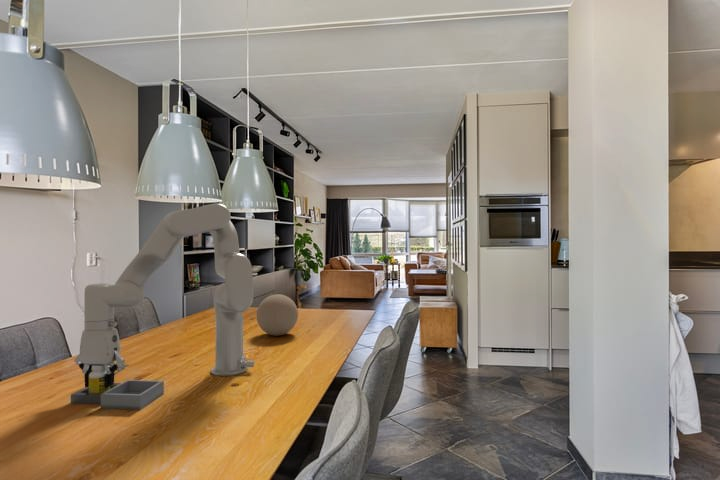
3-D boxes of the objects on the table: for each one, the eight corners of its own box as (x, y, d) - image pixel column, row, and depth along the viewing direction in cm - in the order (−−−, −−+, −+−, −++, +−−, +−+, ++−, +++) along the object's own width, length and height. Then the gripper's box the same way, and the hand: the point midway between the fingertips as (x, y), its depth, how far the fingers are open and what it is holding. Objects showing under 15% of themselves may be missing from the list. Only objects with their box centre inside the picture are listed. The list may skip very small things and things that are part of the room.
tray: (163, 394, 125) (163, 380, 125) (140, 409, 113) (140, 395, 113) (127, 392, 125) (127, 379, 125) (100, 408, 114) (100, 394, 114)
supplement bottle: (99, 401, 119) (99, 367, 119) (84, 399, 120) (83, 366, 120) (114, 394, 124) (114, 362, 124) (99, 393, 125) (99, 361, 125)
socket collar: (126, 391, 127) (126, 383, 127) (103, 404, 117) (103, 395, 117) (95, 390, 127) (95, 382, 127) (70, 403, 117) (70, 394, 117)
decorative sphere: (259, 330, 210) (259, 292, 210) (298, 330, 213) (298, 291, 212) (253, 340, 190) (253, 297, 190) (296, 339, 193) (297, 297, 193)
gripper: (134, 323, 125) (134, 382, 125) (81, 322, 126) (81, 380, 126) (118, 328, 118) (118, 391, 118) (62, 327, 119) (62, 389, 119)
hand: (99, 385), depth 122 cm, fingers closed on supplement bottle, 5 cm apart
